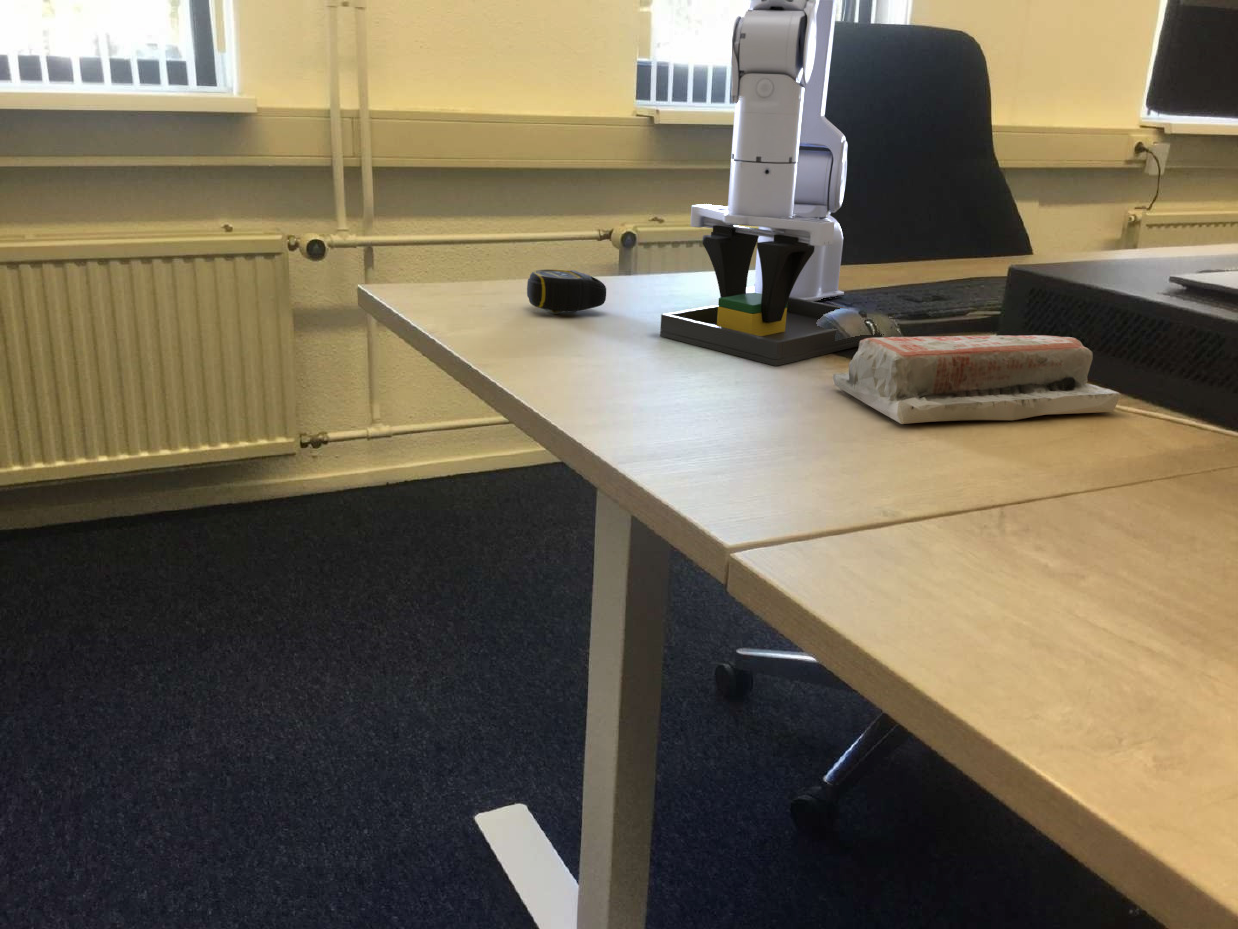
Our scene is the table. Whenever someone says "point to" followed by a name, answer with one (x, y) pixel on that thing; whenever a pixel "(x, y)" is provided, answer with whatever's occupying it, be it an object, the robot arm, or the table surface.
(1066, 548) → the table surface
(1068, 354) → the packaged product
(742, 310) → the sponge
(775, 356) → the tray
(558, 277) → the tape measure
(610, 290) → the table surface
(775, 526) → the table surface
